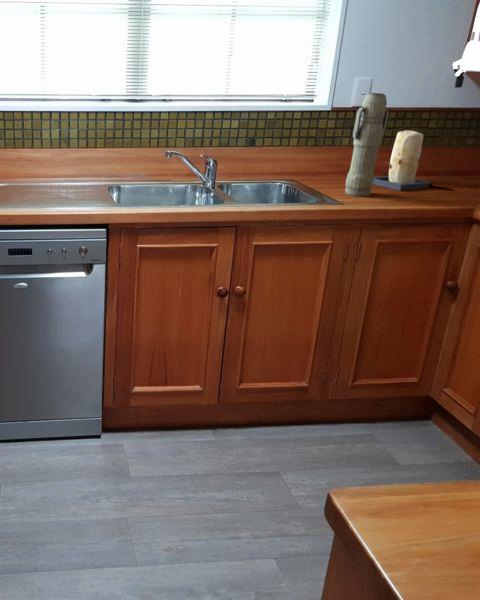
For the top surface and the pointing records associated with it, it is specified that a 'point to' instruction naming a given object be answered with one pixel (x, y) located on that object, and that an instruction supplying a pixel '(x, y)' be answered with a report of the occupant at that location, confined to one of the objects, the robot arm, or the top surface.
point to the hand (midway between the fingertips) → (470, 88)
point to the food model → (405, 157)
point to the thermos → (366, 144)
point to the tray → (386, 183)
